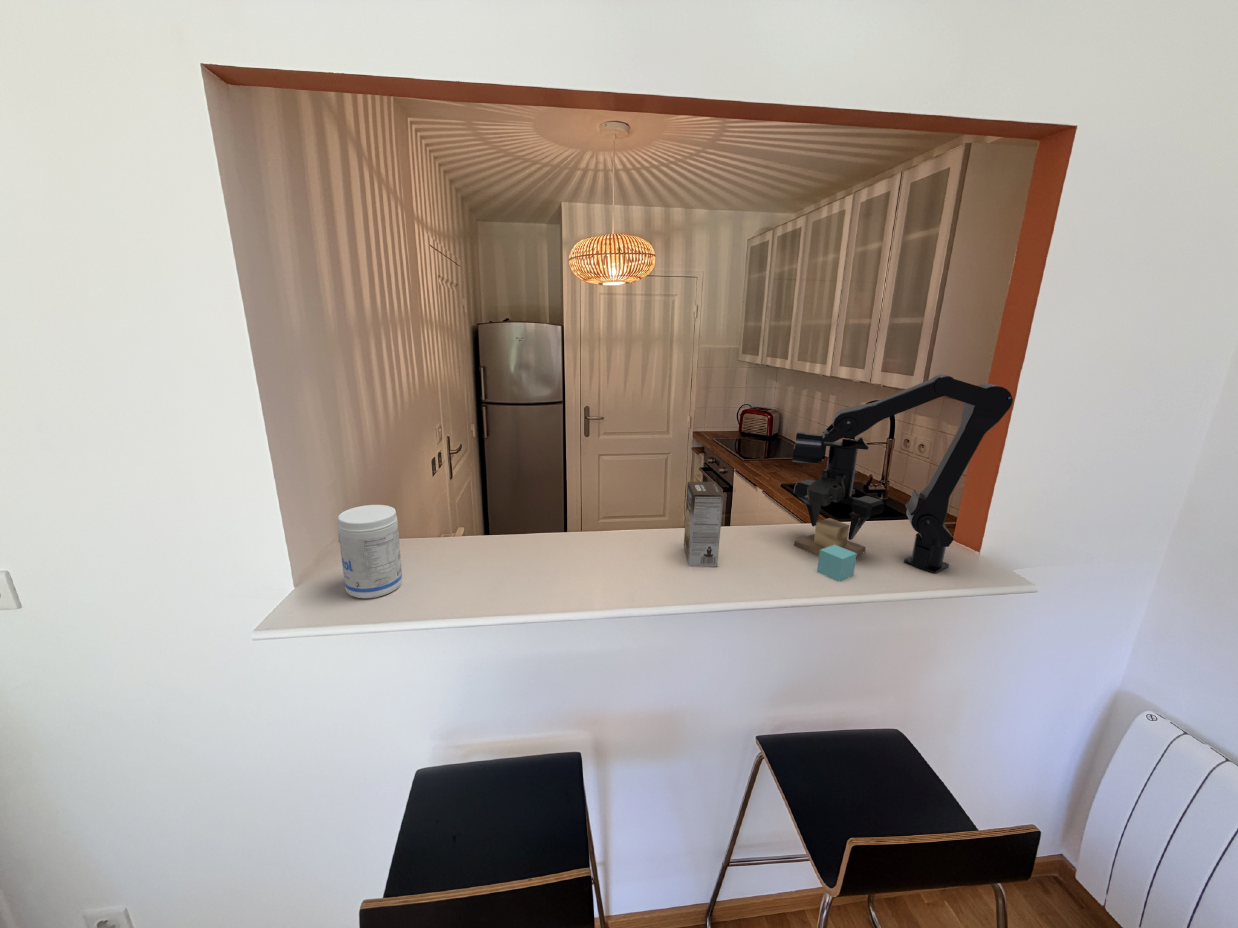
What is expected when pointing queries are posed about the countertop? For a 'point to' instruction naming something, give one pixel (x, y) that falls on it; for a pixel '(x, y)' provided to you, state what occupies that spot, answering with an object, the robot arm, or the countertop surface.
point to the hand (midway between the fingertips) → (831, 532)
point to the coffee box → (703, 523)
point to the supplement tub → (370, 550)
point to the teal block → (836, 562)
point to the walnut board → (814, 548)
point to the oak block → (831, 533)
